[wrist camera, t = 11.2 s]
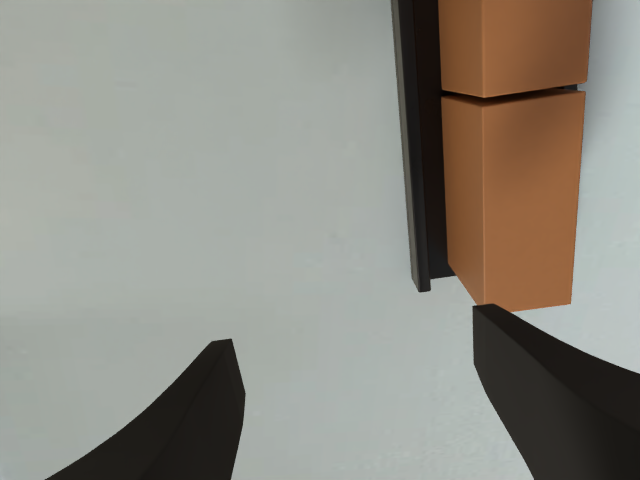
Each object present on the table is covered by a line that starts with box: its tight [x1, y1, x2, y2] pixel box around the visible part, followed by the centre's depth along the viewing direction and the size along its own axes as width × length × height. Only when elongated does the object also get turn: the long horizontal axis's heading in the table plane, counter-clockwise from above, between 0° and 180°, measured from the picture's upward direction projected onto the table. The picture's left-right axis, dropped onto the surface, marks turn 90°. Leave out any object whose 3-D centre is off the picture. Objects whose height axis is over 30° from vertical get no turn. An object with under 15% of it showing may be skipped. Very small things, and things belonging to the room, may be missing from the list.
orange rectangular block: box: [441, 88, 586, 312], centre depth 18 cm, size 3×8×5 cm, turn 8°
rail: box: [391, 0, 577, 292], centre depth 19 cm, size 7×18×2 cm, turn 8°
